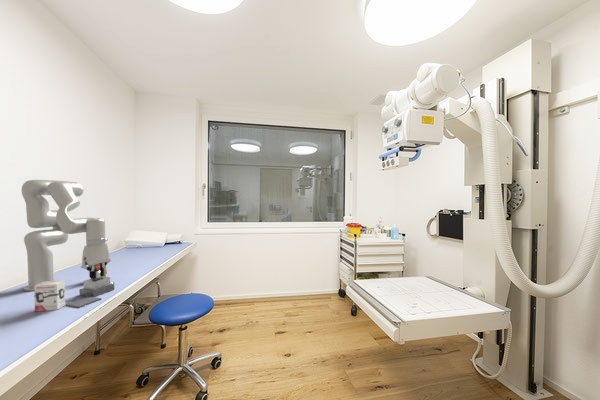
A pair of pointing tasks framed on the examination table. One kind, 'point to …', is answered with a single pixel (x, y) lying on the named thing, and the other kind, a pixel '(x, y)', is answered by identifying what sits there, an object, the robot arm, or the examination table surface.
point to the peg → (97, 272)
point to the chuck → (96, 287)
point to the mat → (83, 301)
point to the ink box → (49, 295)
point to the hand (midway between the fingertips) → (96, 276)
